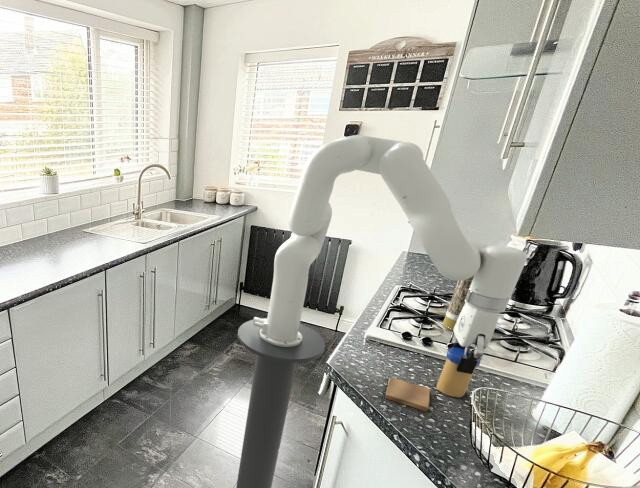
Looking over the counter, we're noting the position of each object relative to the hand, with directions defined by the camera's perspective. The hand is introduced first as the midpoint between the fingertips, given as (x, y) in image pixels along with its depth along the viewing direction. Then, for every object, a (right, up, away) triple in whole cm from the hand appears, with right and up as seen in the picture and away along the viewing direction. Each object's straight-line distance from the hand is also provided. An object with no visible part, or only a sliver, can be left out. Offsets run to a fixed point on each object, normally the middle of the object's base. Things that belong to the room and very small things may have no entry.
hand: (460, 364), depth 105 cm
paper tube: (+24, +7, +33) cm, 42 cm away
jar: (0, -7, +3) cm, 8 cm away
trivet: (-13, -8, +1) cm, 15 cm away
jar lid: (0, +2, -1) cm, 2 cm away
